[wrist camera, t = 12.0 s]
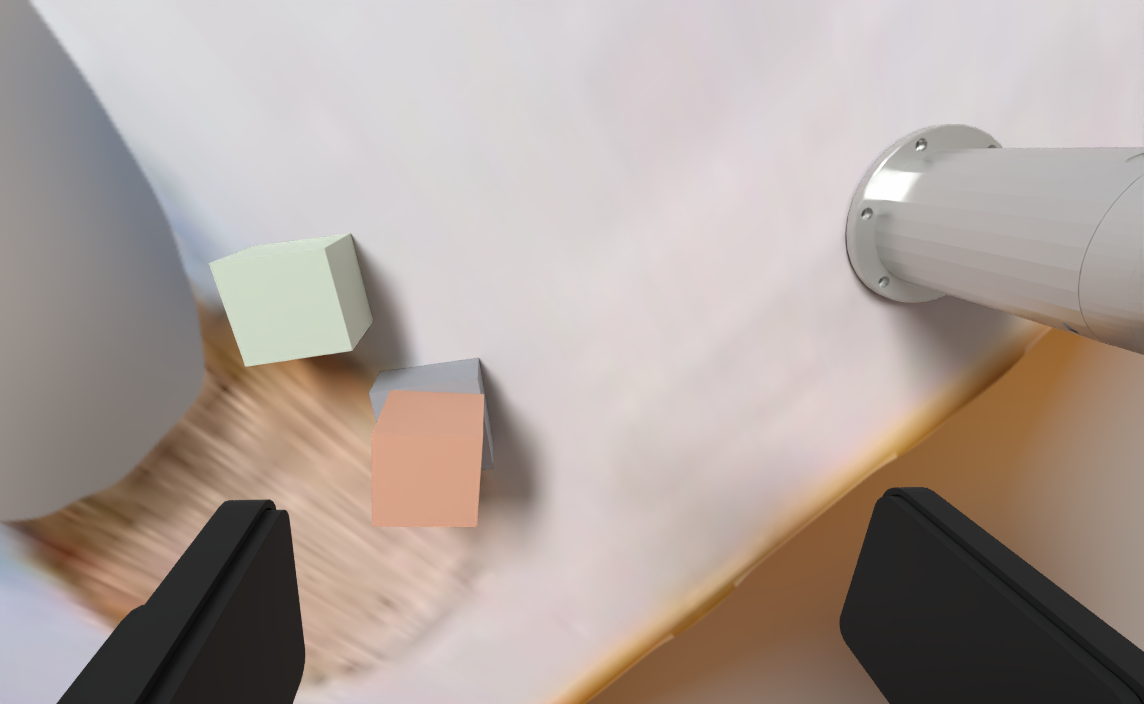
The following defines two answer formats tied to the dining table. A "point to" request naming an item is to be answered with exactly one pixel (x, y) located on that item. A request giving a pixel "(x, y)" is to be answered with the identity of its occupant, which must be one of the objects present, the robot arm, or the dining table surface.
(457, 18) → the dining table surface
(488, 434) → the slate-grey block
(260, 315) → the sage cube
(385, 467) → the terracotta cube
